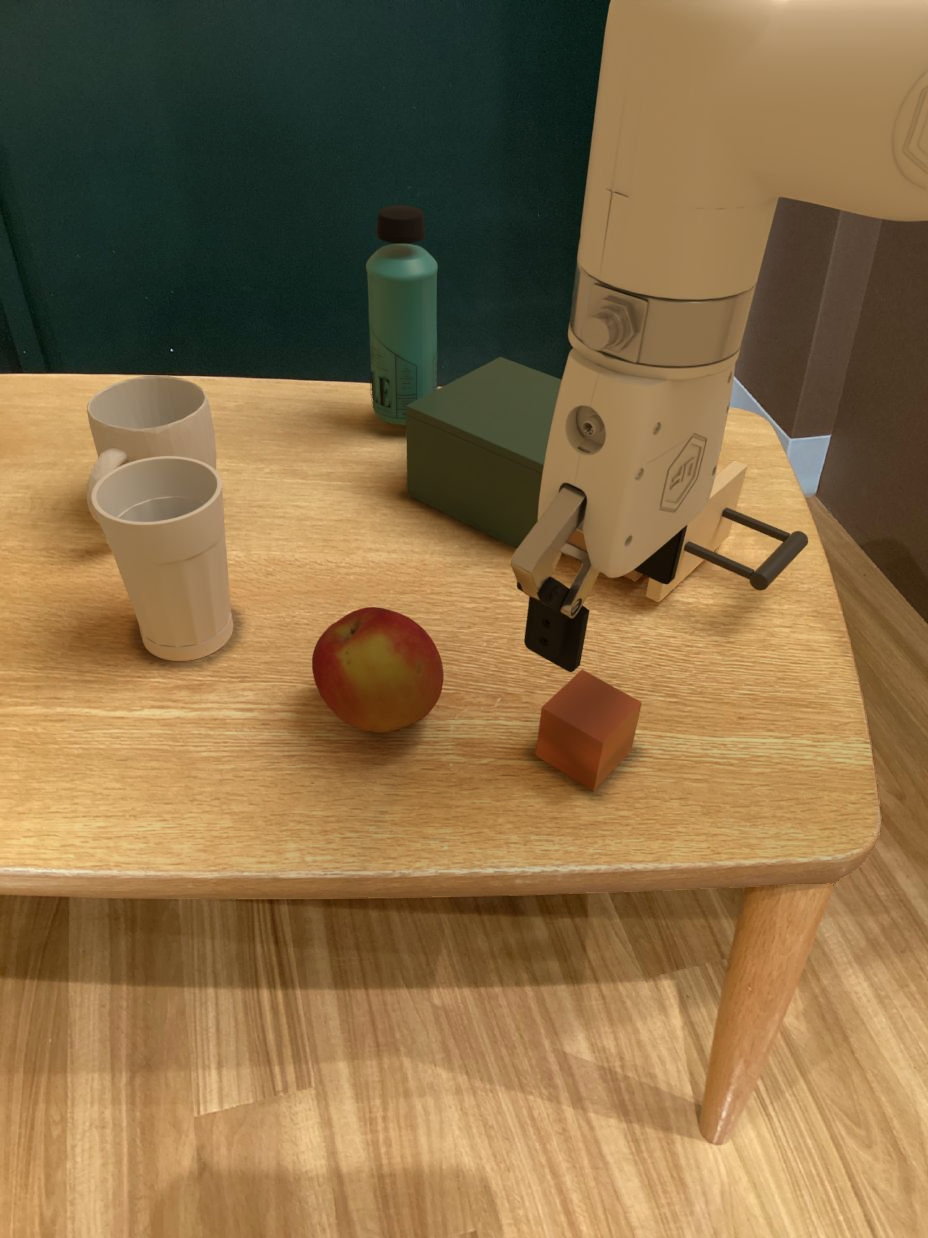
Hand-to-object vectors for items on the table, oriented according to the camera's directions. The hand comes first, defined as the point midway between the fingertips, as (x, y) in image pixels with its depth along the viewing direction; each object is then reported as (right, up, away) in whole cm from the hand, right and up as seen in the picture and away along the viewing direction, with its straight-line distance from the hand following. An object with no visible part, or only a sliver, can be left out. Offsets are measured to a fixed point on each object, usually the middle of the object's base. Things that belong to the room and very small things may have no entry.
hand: (602, 612), depth 51 cm
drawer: (+8, +5, +23) cm, 25 cm away
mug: (-33, +8, +26) cm, 42 cm away
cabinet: (-3, +10, +30) cm, 32 cm away
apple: (-13, -7, +10) cm, 18 cm away
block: (0, -9, +7) cm, 12 cm away
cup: (-27, -1, +15) cm, 31 cm away
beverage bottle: (-13, +19, +39) cm, 46 cm away
